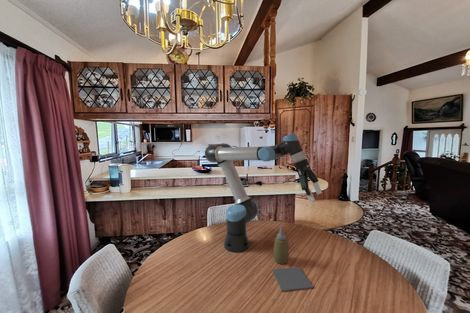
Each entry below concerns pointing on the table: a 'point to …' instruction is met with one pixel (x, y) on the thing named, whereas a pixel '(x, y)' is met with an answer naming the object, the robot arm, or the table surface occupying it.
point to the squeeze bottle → (281, 248)
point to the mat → (291, 279)
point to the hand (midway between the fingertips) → (316, 197)
